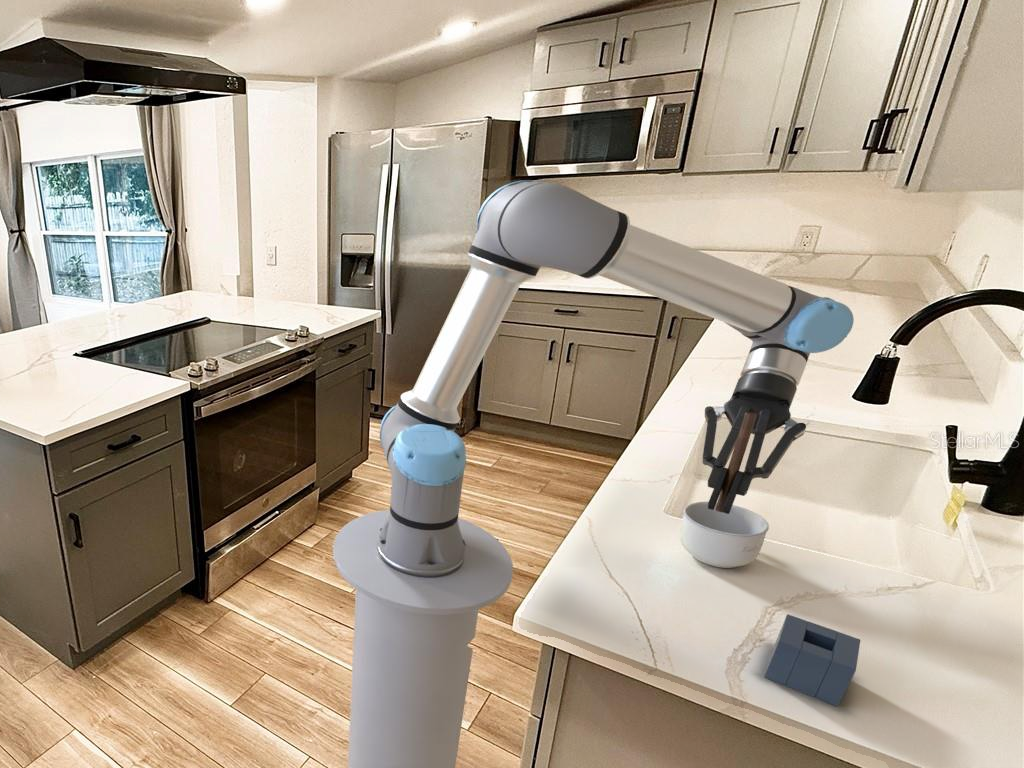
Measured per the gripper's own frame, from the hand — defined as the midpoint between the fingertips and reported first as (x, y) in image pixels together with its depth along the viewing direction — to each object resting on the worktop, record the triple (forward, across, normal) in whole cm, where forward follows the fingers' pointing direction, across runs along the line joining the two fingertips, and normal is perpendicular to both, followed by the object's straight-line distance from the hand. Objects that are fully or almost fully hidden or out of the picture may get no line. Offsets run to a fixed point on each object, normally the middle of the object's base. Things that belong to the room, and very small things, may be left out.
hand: (718, 508), depth 97 cm
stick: (-1, 0, -4) cm, 4 cm away
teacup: (+5, -1, -10) cm, 11 cm away
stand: (+22, -15, +7) cm, 27 cm away
